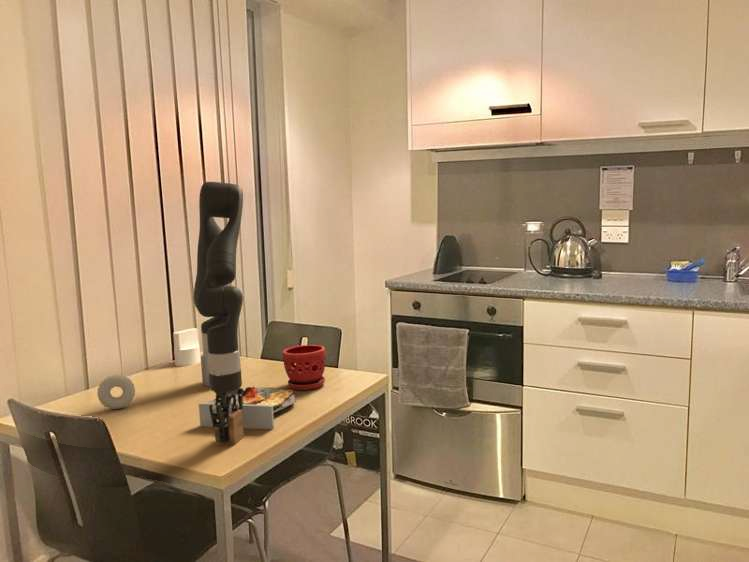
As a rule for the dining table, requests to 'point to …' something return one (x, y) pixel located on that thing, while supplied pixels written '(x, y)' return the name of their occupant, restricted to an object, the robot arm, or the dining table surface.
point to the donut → (116, 401)
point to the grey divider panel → (243, 416)
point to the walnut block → (232, 428)
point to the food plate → (268, 397)
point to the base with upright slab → (186, 347)
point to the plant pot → (305, 366)
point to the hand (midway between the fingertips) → (229, 436)
